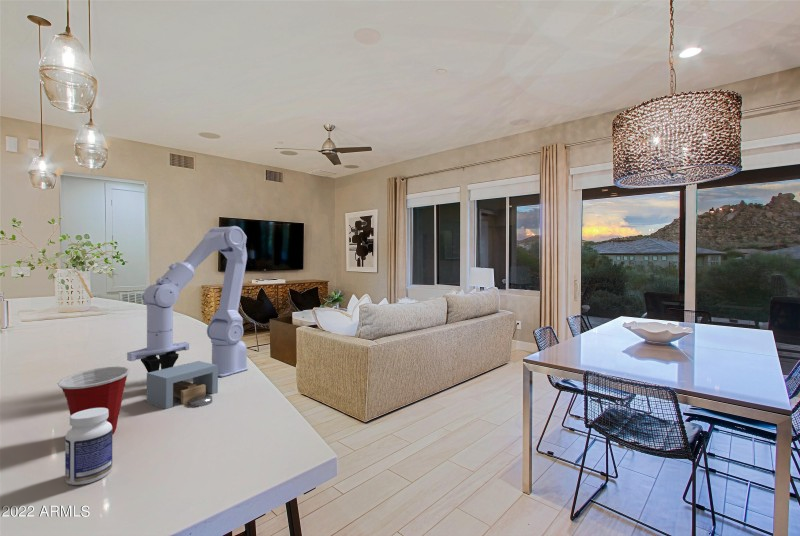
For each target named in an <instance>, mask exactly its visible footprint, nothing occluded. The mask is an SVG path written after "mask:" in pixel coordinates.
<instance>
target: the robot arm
mask: <svg viewBox="0 0 800 536" xmlns="http://www.w3.org/2000/svg"><path fill="white" fill-rule="evenodd" d="M247 239H248V237H247V235H246V233H245V232H244V230H243V229H242V228H241V227H239V226H237V225H233V226H220V227H219V226H214V227H212V228H210V229H209V230H208V232H206V233H205V234H204V235H203V238H202V240H201V241H200V242H199V243H198V244H197V245H196V247H195V248H194V249H192V251H191V253H190V254H189V255H188V256H187V257H186V258H185V259H184V260H183V261H182V262H181V261H179V262H178V261H177V262H175V263H171V264H170V265H169V266H168V270H167V271H166V272H165V273H164V274H163V275H162V276H161V277H158V278H157V279H156V281H155V282H156V283H154V284H151V285H149V286H147V288H145V290H144V293H143V294H142V295H141V300H142V302H143V303H144V304H145V305H146V347H144V348H141V349H138V350H133V351H127V352H126V361H128V362H135V361H137V360H140V361H141V363H142V364H143V366H144V368H145V369H146V371H147V372H146V373H149V372H153V371H158V370H162V369H166V368H170V367H175V363H176V362H177V361H178V359H179V353H178V352H182V351H189V350H190V343H189V342H186V341H184V342H177V343H174V334H173V333H174V330H173V329H174V304H175V303H177V301H178V300H179V294H180V292H181V291H182V290H183V289H184V288H185V287H186V285H188V283H190V281H191V280H192V279H193V278H194V277H195V270H196V269H197V267H198V266H200V265H201V264H202V263H203V261H205V260H206V259H207V258H208V257H209V256H210V255H211V254H212V253H214V252H215V251H219V252H220V253H221V254H222V255H223V256H224V257H225V259H226V267H225V272H224V277H223V283H222V289H221V292H220V293H221V294H220V300H219V305H218V310H216V311H215V312H214V313H213V314H212V316H211V320H210V322H209V323H208V325H207V327H206V334H207V337H208V338H209V339H210V343H211V364H215V365H218V377H221V378H222V377H223V378H224V377H226V376H230V375H233V374H237V373H241V372H244V371H247V370H249V367H247V363H248V362H247V359H248V353H247V352H248V351H247V350H248V348H247V345H246V343H245V341H242V340H241V339H242V338H243V335H244V327H243V325H244V324H243V321H244V318H243V317H242V315H241V314H240V313H239V308H240V301H241V295H242V290H243V284H244V277H245V272H246V267H247V266H246V265H247V261H248V252H247V247H246V246H247V245H246V244H247Z"/></svg>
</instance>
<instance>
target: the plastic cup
mask: <svg viewBox="0 0 800 536" xmlns="http://www.w3.org/2000/svg"><path fill="white" fill-rule="evenodd" d="M129 374H130V368H129V367H127V366H120V365H119V366H118V365H117V366H103V367H99V368H98V367H97V368H93V369H88V370H84V371H80V372H77V373H74V374H71V375H68V376H66V377H64V378H62V379H60V380H59V381H58V382H57V386H58V387H59V389H61V390H62V393H64V397H65V398H66V402H67V406H68V410H69V414H70V415H69V416H71V415H73V414H74V413H77V412H79V411H83V410H87V409H92V408H107V409H108V413H109V417H108V418H107V419H106V420H107V422H109V423H111V425H112V436H113V435H114V434H115V433H116V429H117V427H118V421H119V416H120V413H121V408H122V401H123V397H124V391H125V386H126V381H127V377H128V375H129Z"/></svg>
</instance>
